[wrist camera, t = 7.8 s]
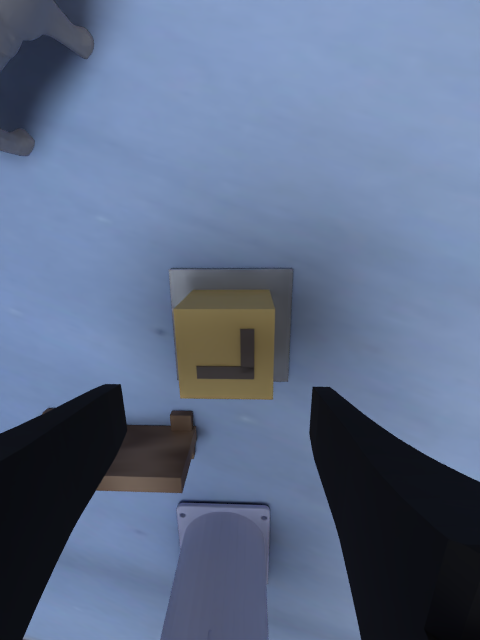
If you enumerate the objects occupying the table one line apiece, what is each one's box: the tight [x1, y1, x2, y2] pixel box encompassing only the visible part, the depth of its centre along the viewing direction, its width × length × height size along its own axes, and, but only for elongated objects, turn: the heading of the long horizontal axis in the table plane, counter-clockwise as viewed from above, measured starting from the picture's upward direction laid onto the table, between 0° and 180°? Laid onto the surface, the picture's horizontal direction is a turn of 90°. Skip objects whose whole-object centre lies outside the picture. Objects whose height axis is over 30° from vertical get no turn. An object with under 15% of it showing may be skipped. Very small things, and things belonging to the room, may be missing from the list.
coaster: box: [169, 268, 293, 382], centre depth 20 cm, size 8×8×1 cm
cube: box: [173, 290, 275, 400], centre depth 17 cm, size 5×5×5 cm
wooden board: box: [42, 409, 197, 493], centre depth 21 cm, size 12×4×5 cm, turn 90°
